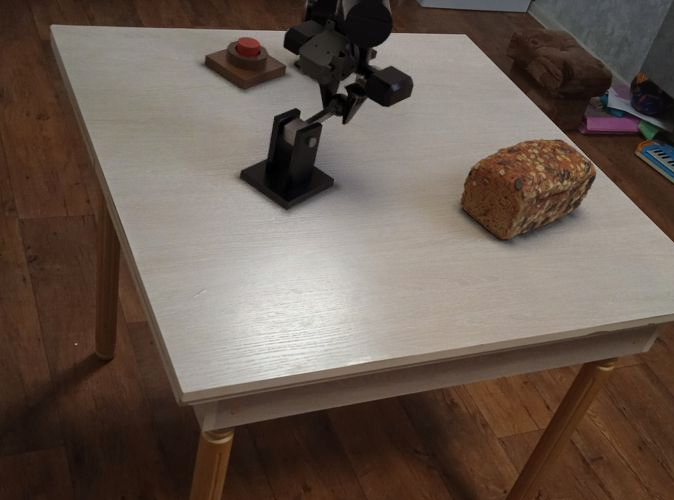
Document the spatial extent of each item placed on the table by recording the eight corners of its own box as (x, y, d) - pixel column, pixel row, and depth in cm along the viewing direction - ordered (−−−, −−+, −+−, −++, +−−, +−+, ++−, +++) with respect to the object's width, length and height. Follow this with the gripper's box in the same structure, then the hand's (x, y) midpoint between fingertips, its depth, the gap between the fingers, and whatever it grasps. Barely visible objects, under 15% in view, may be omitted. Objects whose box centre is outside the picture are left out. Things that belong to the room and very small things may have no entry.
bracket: (287, 155, 122) (298, 95, 115) (333, 185, 119) (347, 125, 112) (239, 177, 115) (248, 114, 109) (286, 209, 112) (298, 147, 105)
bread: (504, 246, 117) (529, 188, 110) (452, 204, 121) (473, 146, 115) (581, 213, 127) (609, 158, 120) (531, 176, 132) (554, 121, 125)
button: (247, 45, 137) (248, 35, 136) (263, 54, 136) (264, 44, 134) (231, 49, 135) (233, 39, 133) (247, 59, 133) (249, 49, 132)
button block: (246, 51, 142) (249, 31, 140) (285, 74, 139) (288, 55, 137) (204, 64, 136) (206, 44, 133) (243, 89, 133) (246, 69, 130)
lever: (337, 104, 119) (340, 85, 116) (354, 115, 118) (357, 96, 115) (280, 140, 113) (281, 121, 110) (297, 151, 111) (298, 132, 109)
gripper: (263, -7, 104) (249, 103, 115) (376, 58, 98) (350, 168, 109) (319, -23, 111) (301, 82, 122) (429, 36, 105) (399, 142, 116)
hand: (335, 118), depth 117 cm, fingers closed on lever, 3 cm apart
